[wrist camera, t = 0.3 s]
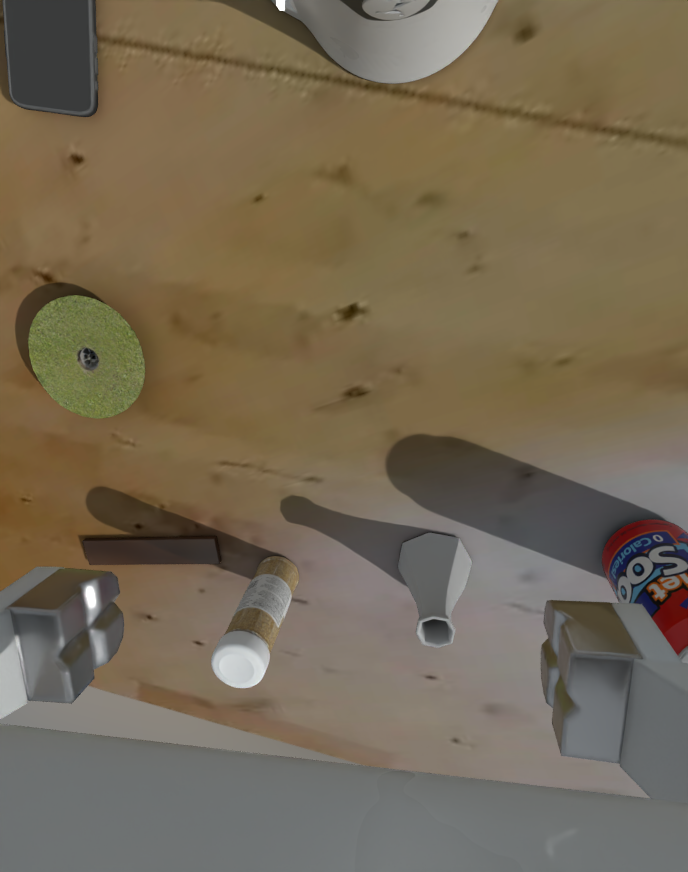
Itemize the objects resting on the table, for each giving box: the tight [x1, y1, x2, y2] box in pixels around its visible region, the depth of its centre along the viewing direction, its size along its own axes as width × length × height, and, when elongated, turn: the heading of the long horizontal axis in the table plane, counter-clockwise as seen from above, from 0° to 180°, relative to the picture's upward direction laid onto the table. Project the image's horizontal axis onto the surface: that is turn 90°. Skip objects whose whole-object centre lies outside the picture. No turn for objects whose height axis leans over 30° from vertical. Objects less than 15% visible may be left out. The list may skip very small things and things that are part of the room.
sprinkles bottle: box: [211, 556, 299, 688], centre depth 50 cm, size 5×5×13 cm
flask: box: [398, 532, 472, 648], centre depth 49 cm, size 7×7×10 cm
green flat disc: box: [28, 295, 145, 418], centre depth 50 cm, size 11×11×2 cm
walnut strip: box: [83, 536, 221, 565], centre depth 58 cm, size 3×15×1 cm, turn 96°
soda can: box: [602, 520, 688, 663], centre depth 43 cm, size 8×8×15 cm
